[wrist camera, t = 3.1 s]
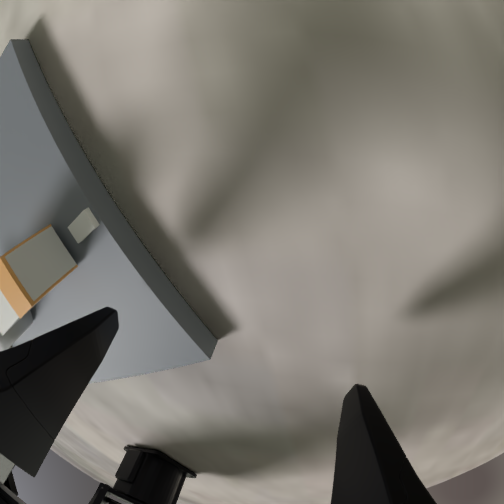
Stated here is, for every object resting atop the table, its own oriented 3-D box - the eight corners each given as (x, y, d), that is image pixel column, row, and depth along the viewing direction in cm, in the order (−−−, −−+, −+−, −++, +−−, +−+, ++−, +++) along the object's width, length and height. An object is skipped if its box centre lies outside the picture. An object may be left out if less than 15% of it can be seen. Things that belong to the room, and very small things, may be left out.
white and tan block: (25, 329, 15) (1, 355, 12) (-3, 288, 14) (-30, 312, 11) (87, 279, 11) (43, 321, 8) (42, 210, 10) (-9, 241, 7)
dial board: (217, 340, 13) (208, 364, 11) (55, 379, 21) (47, 389, 19) (28, 39, 7) (6, 39, 6) (-46, 230, 15) (-56, 237, 14)
